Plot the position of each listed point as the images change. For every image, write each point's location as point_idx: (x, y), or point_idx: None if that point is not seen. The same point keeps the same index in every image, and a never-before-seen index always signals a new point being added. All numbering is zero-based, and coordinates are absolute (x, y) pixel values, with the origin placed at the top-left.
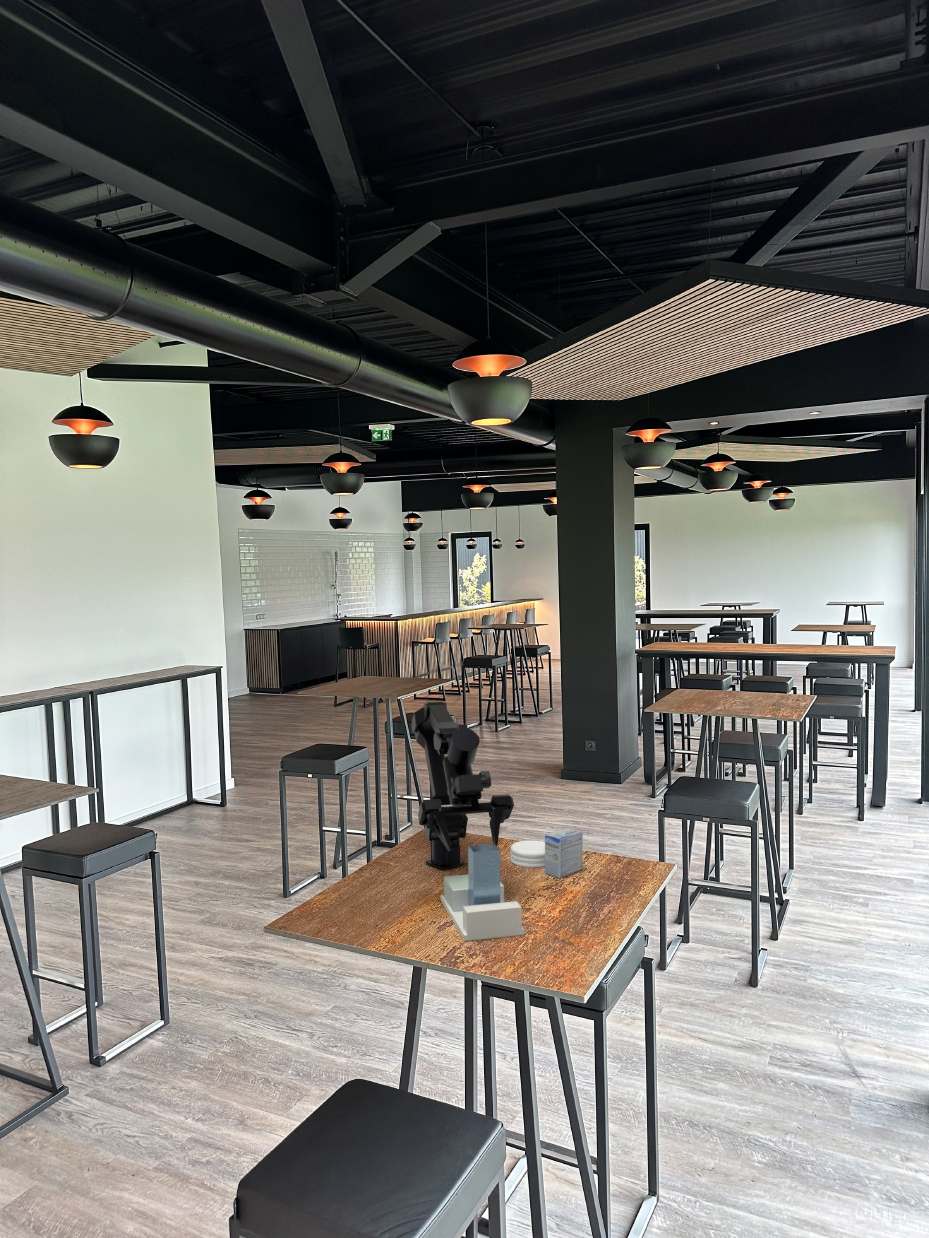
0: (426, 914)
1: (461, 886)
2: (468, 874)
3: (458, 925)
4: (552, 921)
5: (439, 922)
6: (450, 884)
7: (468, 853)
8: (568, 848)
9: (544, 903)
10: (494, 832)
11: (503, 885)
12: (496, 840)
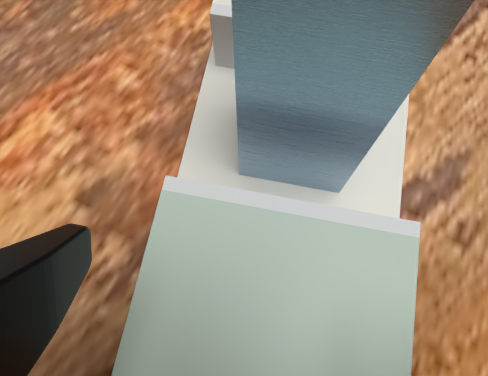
0: (473, 318)
1: (360, 259)
2: (389, 118)
3: (406, 124)
4: (85, 77)
5: (442, 223)
6: (406, 312)
7: (447, 32)
8: None
9: (3, 218)
10: (4, 281)
11: (164, 183)
12: (53, 239)
